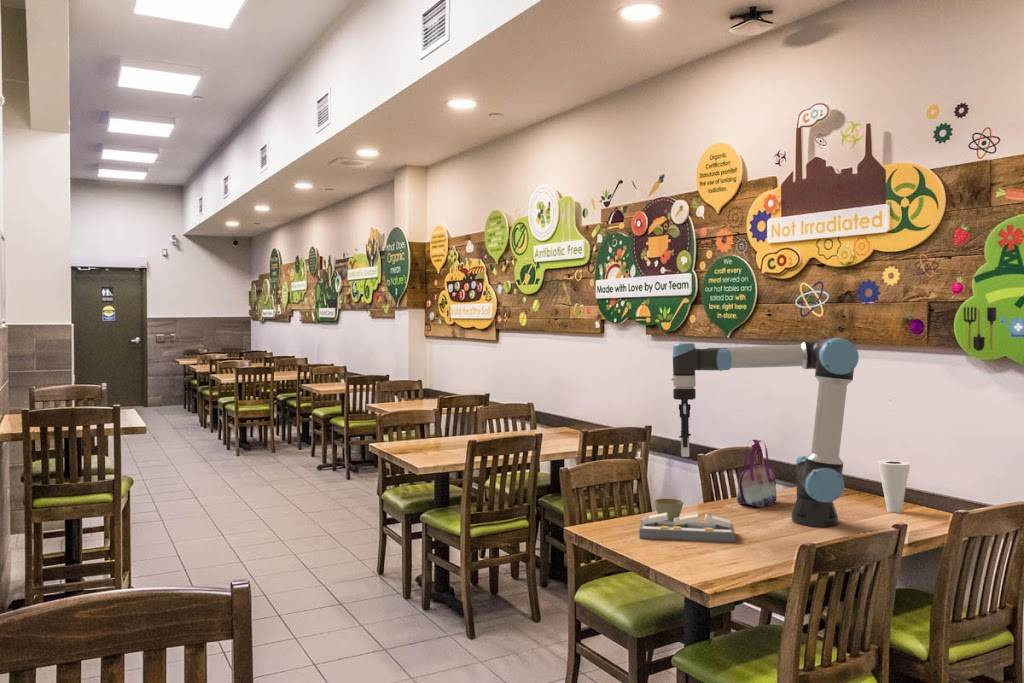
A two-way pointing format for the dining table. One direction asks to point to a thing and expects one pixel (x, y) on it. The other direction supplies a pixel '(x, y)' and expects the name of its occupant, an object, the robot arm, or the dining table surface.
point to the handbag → (757, 481)
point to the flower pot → (669, 507)
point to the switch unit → (687, 531)
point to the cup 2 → (894, 483)
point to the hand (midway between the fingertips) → (685, 455)
